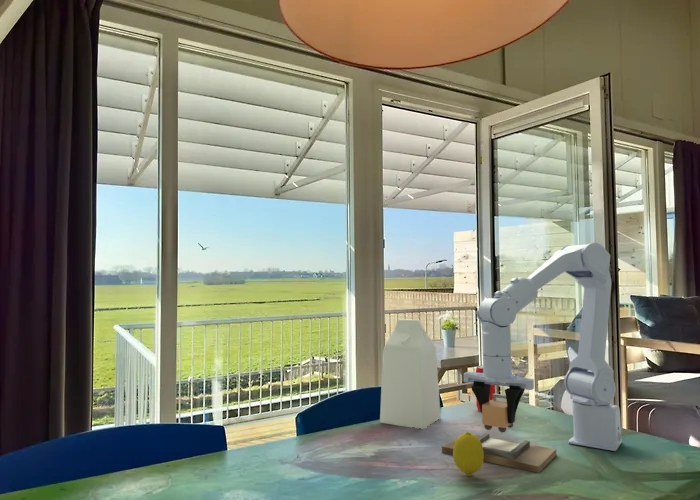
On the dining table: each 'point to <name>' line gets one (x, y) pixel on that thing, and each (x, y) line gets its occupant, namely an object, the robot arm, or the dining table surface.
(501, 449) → the dock
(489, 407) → the toy cart
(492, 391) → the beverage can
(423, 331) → the milk
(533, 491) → the dining table surface
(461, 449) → the lemon
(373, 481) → the dining table surface
